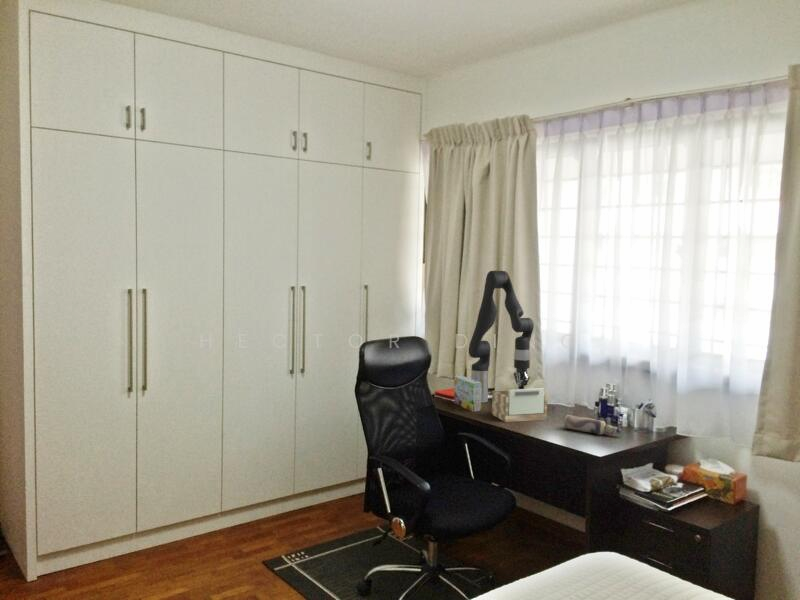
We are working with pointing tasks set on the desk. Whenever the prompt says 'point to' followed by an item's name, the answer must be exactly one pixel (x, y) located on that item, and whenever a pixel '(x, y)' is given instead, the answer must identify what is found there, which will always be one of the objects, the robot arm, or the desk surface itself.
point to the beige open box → (502, 406)
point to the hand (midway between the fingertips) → (521, 393)
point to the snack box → (467, 393)
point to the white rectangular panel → (526, 401)
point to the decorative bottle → (589, 425)
